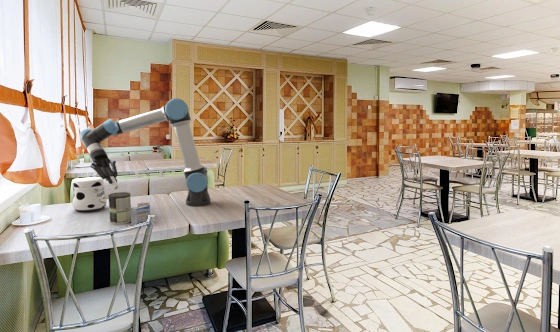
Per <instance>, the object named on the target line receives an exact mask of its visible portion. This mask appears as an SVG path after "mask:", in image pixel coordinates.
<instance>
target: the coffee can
mask: <svg viewBox="0 0 560 332" xmlns="http://www.w3.org/2000/svg"><path fill="white" fill-rule="evenodd" d="M107 196H108V197H107V198H108V207H109V208H108V209H109V210H108V211H109V212H108V213H109V223H110V224H113V225H120V224H126V223H129V222H131V208H132V206H131V202H132V201H131V193H130V192H127V191H125V192H124V191H123V192H122V191H121V192H113V193H110V194H108V195H107Z"/></svg>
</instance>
